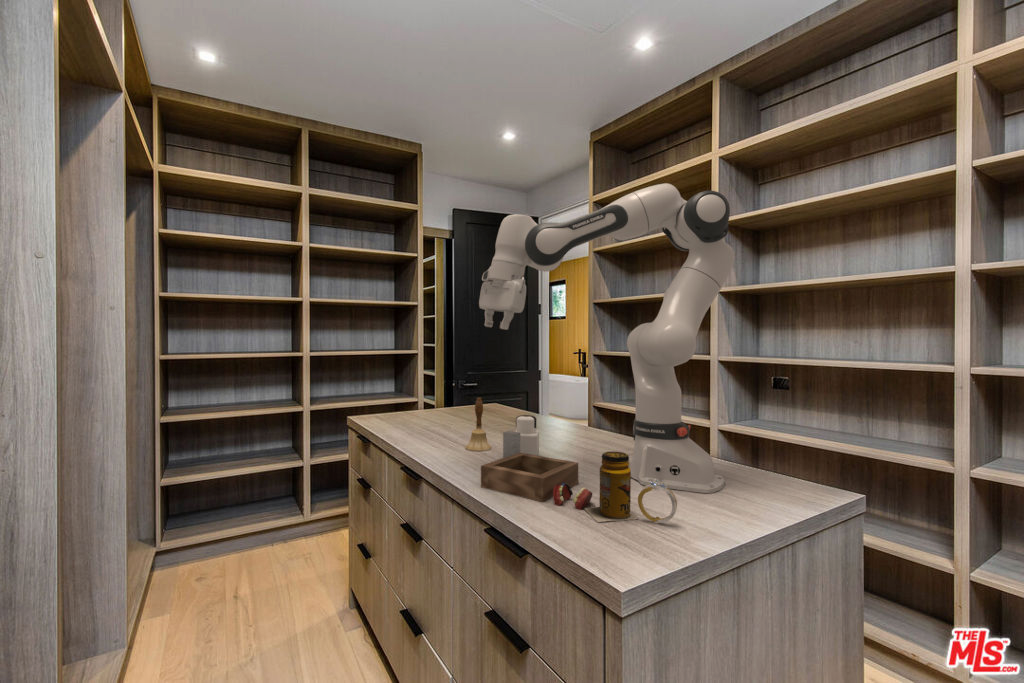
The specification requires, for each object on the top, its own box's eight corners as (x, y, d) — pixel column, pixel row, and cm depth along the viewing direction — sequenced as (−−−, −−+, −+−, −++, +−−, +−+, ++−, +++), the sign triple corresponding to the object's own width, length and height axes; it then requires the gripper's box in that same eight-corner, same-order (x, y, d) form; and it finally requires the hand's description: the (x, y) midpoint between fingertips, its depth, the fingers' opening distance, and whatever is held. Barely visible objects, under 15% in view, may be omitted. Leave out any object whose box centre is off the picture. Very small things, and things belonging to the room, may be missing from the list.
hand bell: (497, 448, 151) (497, 397, 151) (477, 452, 145) (477, 400, 145) (479, 444, 157) (479, 395, 157) (459, 448, 151) (460, 397, 151)
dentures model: (585, 490, 97) (550, 485, 101) (585, 512, 96) (549, 505, 101) (595, 484, 101) (561, 479, 106) (595, 504, 101) (560, 498, 105)
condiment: (638, 519, 92) (639, 457, 92) (597, 523, 90) (598, 459, 90) (621, 506, 99) (622, 448, 99) (583, 509, 98) (583, 450, 97)
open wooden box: (578, 483, 115) (578, 462, 115) (542, 501, 102) (543, 478, 102) (519, 471, 125) (519, 452, 125) (480, 487, 112) (480, 465, 112)
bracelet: (678, 524, 90) (678, 481, 90) (673, 530, 87) (673, 486, 87) (641, 516, 94) (642, 475, 94) (636, 521, 91) (636, 479, 91)
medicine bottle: (515, 453, 144) (515, 413, 144) (539, 454, 143) (539, 414, 143) (512, 459, 137) (512, 417, 137) (537, 460, 136) (537, 418, 136)
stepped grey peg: (523, 464, 132) (524, 431, 132) (511, 468, 127) (511, 435, 127) (512, 461, 135) (512, 429, 135) (499, 466, 130) (499, 433, 130)
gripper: (536, 277, 117) (525, 333, 117) (500, 279, 135) (490, 327, 135) (514, 271, 114) (502, 328, 114) (480, 274, 132) (470, 323, 132)
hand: (495, 328), depth 125 cm, fingers open, 8 cm apart
